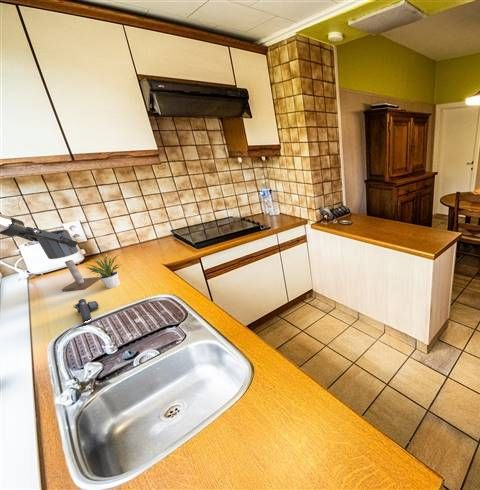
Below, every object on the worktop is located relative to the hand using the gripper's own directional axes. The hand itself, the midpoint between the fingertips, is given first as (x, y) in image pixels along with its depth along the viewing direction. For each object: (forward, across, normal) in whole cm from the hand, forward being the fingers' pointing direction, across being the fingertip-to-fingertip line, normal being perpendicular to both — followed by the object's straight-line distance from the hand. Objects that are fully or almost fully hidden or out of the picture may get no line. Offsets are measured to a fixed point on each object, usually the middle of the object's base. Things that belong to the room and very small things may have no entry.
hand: (66, 244), depth 130 cm
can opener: (-2, +32, -33) cm, 46 cm away
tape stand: (+14, 0, -17) cm, 22 cm away
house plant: (+15, +18, -16) cm, 29 cm away
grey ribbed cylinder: (+1, 0, -5) cm, 5 cm away
